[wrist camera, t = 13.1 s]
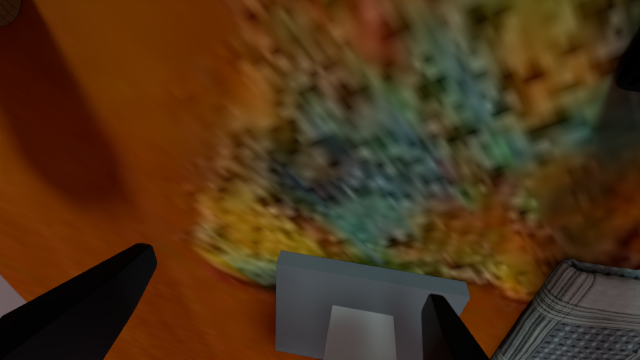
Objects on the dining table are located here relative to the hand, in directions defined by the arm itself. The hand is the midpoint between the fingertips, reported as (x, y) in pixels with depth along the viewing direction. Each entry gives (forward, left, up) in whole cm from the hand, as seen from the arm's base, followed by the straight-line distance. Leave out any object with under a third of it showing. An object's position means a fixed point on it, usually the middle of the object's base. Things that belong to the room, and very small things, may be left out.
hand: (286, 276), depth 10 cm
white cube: (-5, +19, -10) cm, 22 cm away
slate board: (-5, +19, -12) cm, 23 cm away
